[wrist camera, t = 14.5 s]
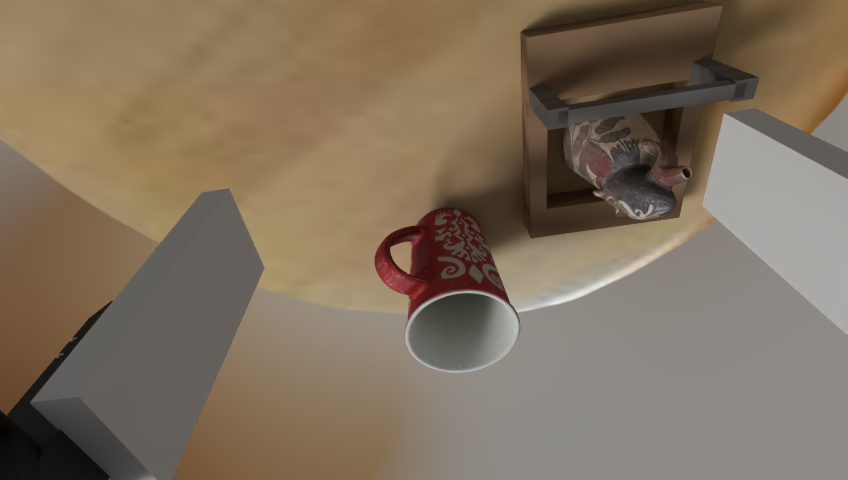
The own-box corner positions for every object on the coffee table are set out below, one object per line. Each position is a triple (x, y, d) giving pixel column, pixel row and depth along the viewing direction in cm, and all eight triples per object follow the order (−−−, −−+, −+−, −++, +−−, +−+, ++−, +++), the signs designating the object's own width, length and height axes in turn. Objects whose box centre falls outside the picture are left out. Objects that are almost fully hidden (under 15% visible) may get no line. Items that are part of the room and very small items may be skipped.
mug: (510, 233, 45) (545, 329, 34) (450, 286, 49) (463, 388, 38) (417, 159, 40) (421, 242, 29) (357, 223, 44) (341, 319, 33)
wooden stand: (520, 31, 34) (547, 52, 28) (703, 1, 34) (776, 15, 27) (524, 224, 44) (545, 273, 38) (666, 204, 44) (712, 251, 37)
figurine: (543, 152, 40) (589, 221, 30) (597, 83, 37) (668, 135, 27) (601, 187, 42) (661, 262, 33) (656, 124, 39) (742, 186, 29)
